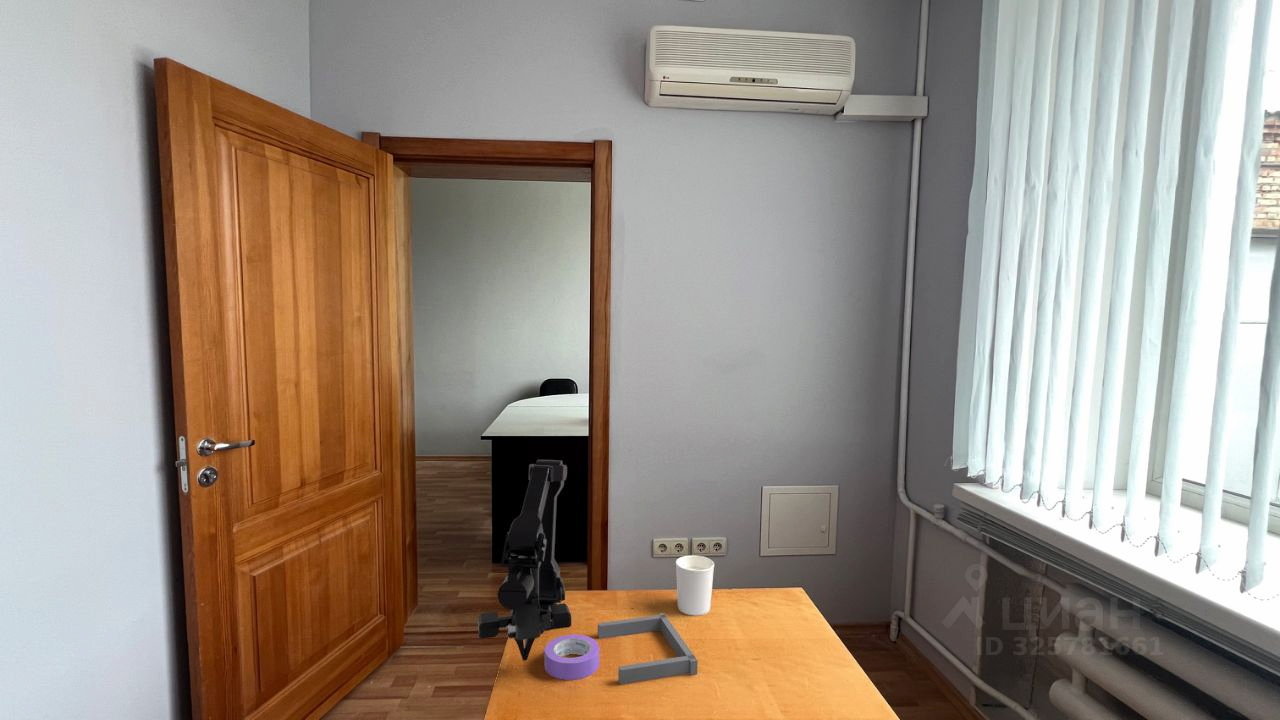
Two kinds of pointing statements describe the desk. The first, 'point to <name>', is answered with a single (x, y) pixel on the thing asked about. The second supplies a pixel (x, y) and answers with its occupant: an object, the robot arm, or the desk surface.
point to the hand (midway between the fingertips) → (524, 659)
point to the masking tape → (571, 666)
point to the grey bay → (651, 669)
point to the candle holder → (694, 584)
